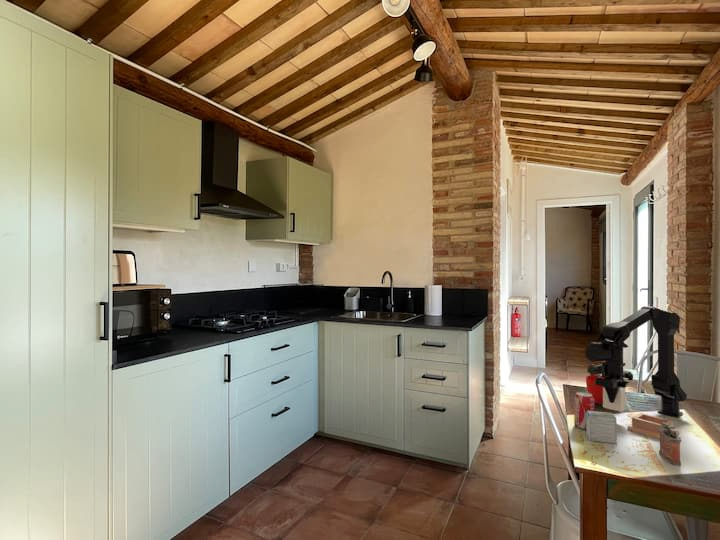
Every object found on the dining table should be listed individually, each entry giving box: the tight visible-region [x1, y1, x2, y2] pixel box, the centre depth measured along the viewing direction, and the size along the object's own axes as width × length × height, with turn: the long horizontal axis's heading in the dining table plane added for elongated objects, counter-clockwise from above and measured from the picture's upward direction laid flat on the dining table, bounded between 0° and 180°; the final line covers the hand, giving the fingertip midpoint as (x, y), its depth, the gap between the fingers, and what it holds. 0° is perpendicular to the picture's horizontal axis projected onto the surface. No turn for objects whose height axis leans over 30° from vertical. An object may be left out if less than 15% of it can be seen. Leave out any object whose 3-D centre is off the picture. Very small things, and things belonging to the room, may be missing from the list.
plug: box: [602, 387, 626, 413], centre depth 146 cm, size 4×6×8 cm, turn 36°
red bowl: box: [585, 374, 607, 406], centre depth 167 cm, size 13×17×10 cm
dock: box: [627, 412, 680, 440], centre depth 136 cm, size 10×12×4 cm
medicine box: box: [586, 410, 618, 444], centre depth 130 cm, size 8×4×9 cm, turn 71°
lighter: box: [658, 422, 682, 467], centre depth 117 cm, size 8×3×10 cm, turn 168°
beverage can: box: [573, 391, 595, 431], centre depth 140 cm, size 6×6×12 cm
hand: (614, 401), depth 146 cm, fingers closed on plug, 4 cm apart
